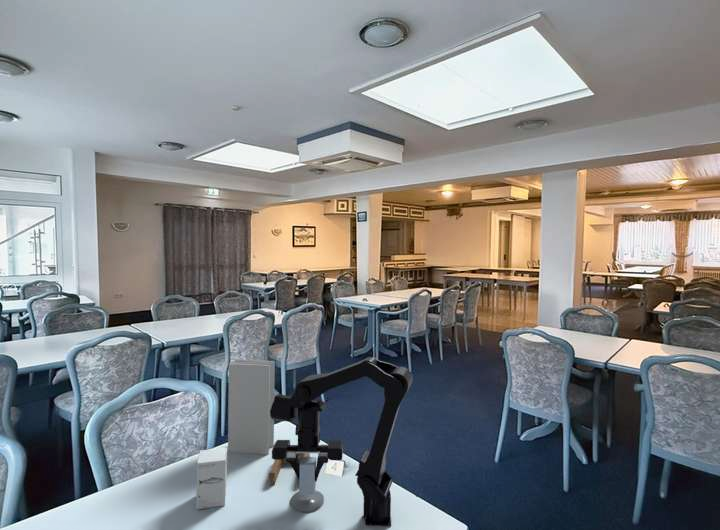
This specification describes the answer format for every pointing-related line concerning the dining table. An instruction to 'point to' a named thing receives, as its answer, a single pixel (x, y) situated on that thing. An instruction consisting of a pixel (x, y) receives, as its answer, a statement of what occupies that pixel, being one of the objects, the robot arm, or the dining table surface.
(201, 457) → the supplement box
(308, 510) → the coaster
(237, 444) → the tall grey box
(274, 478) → the frame
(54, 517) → the dining table surface
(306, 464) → the block
